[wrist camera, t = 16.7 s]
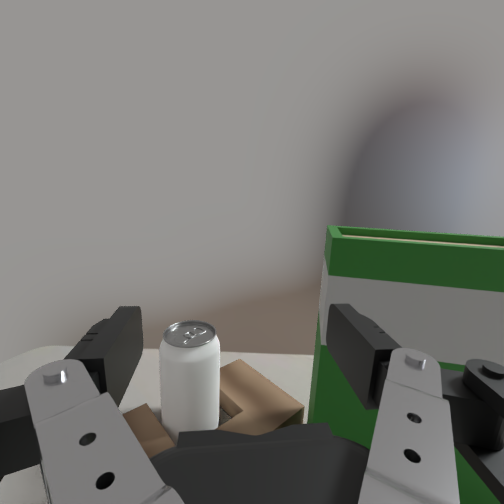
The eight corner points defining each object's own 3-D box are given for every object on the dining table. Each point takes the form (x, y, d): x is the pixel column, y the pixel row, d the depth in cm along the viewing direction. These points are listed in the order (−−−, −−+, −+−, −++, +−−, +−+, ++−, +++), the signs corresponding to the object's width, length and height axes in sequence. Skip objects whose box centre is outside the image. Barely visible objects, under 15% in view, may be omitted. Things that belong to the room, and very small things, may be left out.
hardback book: (472, 457, 31) (531, 238, 25) (521, 538, 23) (618, 258, 18) (307, 424, 34) (327, 225, 28) (305, 486, 27) (332, 237, 21)
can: (150, 429, 32) (145, 333, 30) (193, 397, 37) (192, 313, 35) (188, 462, 29) (187, 357, 26) (230, 422, 34) (232, 330, 31)
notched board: (239, 373, 42) (239, 358, 42) (302, 424, 34) (304, 406, 33) (90, 450, 29) (88, 430, 29) (131, 565, 21) (129, 540, 20)
